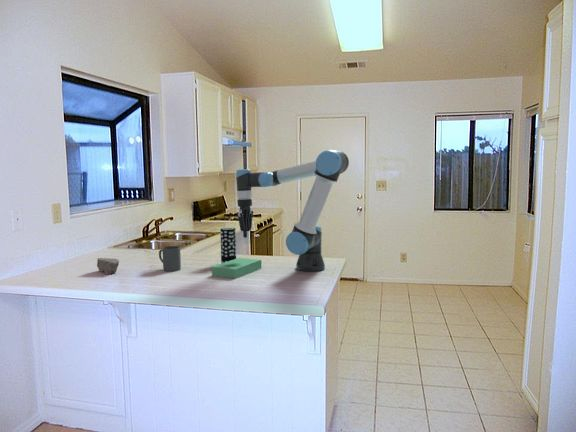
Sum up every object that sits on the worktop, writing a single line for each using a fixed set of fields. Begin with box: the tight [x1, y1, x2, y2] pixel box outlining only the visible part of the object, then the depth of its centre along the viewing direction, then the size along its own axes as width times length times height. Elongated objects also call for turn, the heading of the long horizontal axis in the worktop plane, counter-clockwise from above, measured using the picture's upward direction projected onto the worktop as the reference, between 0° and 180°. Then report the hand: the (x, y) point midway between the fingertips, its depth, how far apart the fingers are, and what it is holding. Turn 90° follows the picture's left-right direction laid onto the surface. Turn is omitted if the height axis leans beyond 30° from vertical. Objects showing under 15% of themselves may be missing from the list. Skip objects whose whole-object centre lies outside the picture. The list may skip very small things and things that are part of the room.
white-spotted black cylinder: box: [219, 227, 237, 264], centre depth 255 cm, size 8×8×20 cm
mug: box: [158, 245, 182, 272], centre depth 244 cm, size 14×9×12 cm
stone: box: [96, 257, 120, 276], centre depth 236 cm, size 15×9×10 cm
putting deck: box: [211, 257, 262, 279], centre depth 237 cm, size 14×25×5 cm, turn 153°
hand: (246, 243), depth 242 cm, fingers closed
